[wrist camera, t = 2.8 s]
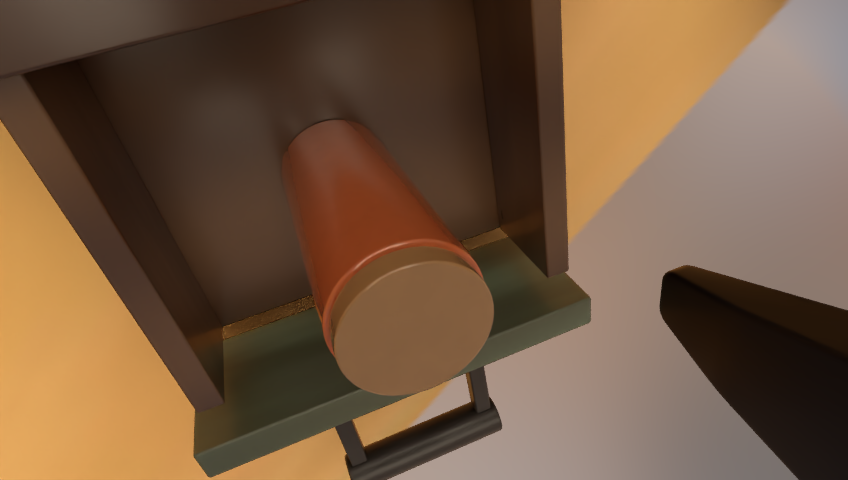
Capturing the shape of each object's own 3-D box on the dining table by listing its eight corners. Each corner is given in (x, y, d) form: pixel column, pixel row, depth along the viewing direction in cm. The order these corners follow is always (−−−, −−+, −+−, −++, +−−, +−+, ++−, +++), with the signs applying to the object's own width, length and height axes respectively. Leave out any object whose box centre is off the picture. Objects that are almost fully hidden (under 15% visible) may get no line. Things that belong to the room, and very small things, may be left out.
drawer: (532, 332, 25) (591, 407, 21) (253, 444, 22) (262, 553, 19) (492, -130, 15) (593, -150, 11) (-26, -15, 12) (-135, 13, 8)
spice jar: (375, 104, 16) (489, 231, 9) (398, 201, 18) (506, 361, 11) (263, 138, 15) (303, 298, 9) (300, 234, 17) (355, 424, 11)
